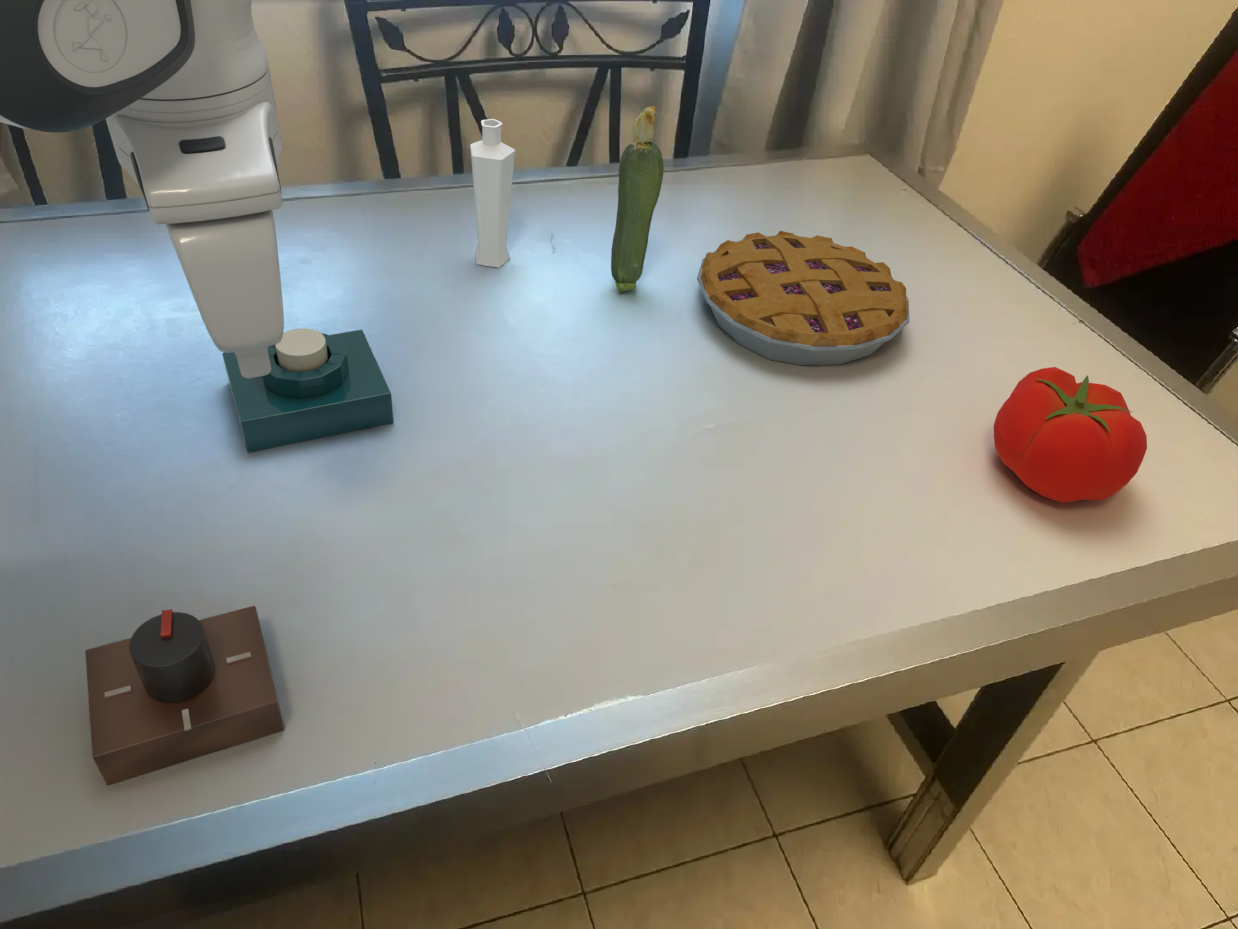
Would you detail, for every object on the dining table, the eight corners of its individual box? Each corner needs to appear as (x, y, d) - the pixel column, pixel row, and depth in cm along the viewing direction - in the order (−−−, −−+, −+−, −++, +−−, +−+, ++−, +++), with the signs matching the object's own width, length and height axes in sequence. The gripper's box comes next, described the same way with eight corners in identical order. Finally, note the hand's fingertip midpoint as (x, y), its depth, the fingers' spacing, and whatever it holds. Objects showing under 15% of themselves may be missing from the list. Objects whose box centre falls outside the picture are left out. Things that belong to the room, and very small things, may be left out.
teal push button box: (247, 452, 77) (236, 404, 74) (228, 382, 84) (217, 334, 81) (393, 422, 82) (389, 375, 78) (365, 358, 88) (360, 312, 85)
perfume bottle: (460, 256, 103) (457, 120, 94) (491, 244, 106) (491, 110, 96) (488, 273, 101) (488, 136, 91) (519, 261, 104) (522, 125, 94)
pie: (942, 359, 96) (958, 318, 93) (749, 390, 90) (758, 346, 86) (835, 253, 111) (845, 214, 108) (662, 273, 105) (668, 231, 101)
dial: (215, 695, 57) (202, 656, 54) (141, 709, 56) (125, 669, 53) (215, 642, 60) (203, 603, 57) (145, 654, 58) (130, 615, 56)
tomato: (1152, 519, 81) (1201, 442, 75) (1018, 526, 79) (1058, 447, 73) (1076, 424, 90) (1115, 349, 85) (955, 428, 88) (986, 352, 82)
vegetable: (606, 277, 103) (622, 91, 90) (645, 278, 103) (668, 93, 90) (610, 299, 100) (628, 109, 86) (651, 300, 100) (675, 111, 87)
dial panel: (106, 787, 55) (91, 757, 53) (98, 677, 60) (84, 646, 58) (285, 731, 59) (277, 701, 57) (262, 632, 64) (254, 602, 62)
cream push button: (283, 376, 78) (279, 359, 77) (274, 349, 80) (270, 332, 79) (332, 367, 79) (330, 350, 78) (322, 341, 82) (320, 324, 81)
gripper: (123, 62, 59) (178, 260, 68) (147, 211, 45) (212, 433, 55) (230, 53, 61) (269, 246, 70) (284, 194, 48) (324, 410, 57)
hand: (245, 329), depth 62 cm, fingers open, 8 cm apart
